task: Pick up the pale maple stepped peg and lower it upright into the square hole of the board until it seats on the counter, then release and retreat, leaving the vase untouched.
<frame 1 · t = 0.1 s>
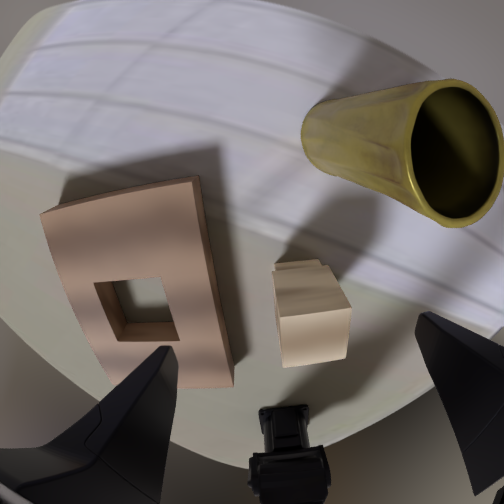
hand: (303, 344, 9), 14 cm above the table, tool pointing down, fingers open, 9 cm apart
board: (145, 294, 25), on the table
vase: (337, 137, 20), on the table
peg: (297, 280, 25), on the table
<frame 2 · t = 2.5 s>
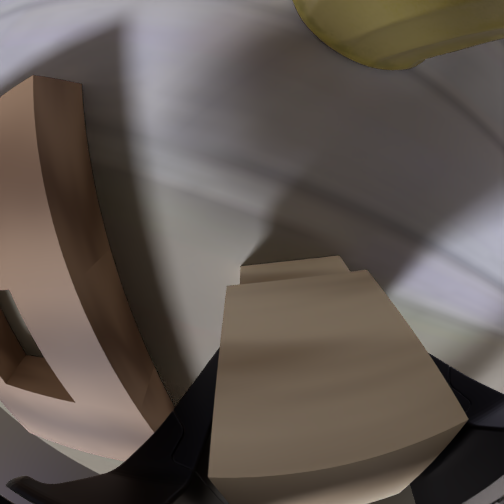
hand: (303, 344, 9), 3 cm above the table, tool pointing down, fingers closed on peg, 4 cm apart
board: (32, 316, 12), on the table
vase: (365, 5, 7), on the table
peg: (292, 302, 11), on the table, touching gripper
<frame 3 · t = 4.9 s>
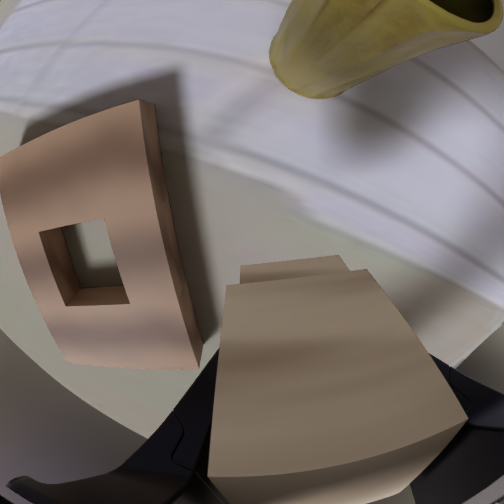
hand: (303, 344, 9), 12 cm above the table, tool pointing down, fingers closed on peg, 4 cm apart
board: (98, 251, 20), on the table
vase: (313, 59, 15), on the table
peg: (292, 302, 11), point 9 cm above the table, touching gripper
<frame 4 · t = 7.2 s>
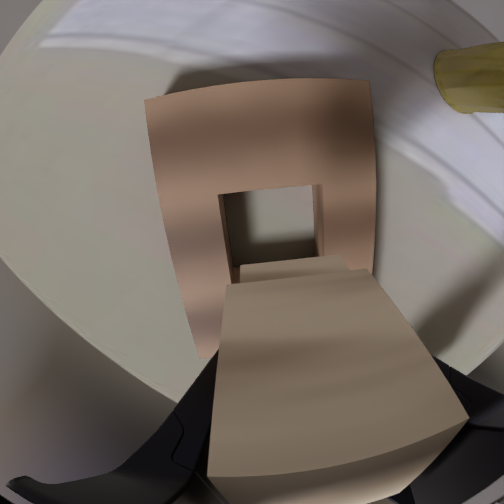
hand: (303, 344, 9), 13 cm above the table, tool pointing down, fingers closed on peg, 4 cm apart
board: (271, 223, 21), on the table
vase: (456, 81, 16), on the table
peg: (292, 301, 11), point 10 cm above the table, touching gripper
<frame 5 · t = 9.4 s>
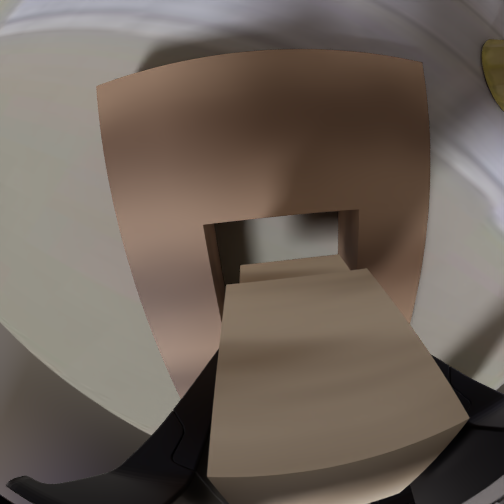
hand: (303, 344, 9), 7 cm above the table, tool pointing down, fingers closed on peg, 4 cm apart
board: (280, 258, 15), on the table
vase: (503, 77, 10), on the table
peg: (292, 301, 11), point 4 cm above the table, touching gripper
when the fingers open (4 cm above the table, at t = 11.6 s): peg drops 1 cm, resting in board.
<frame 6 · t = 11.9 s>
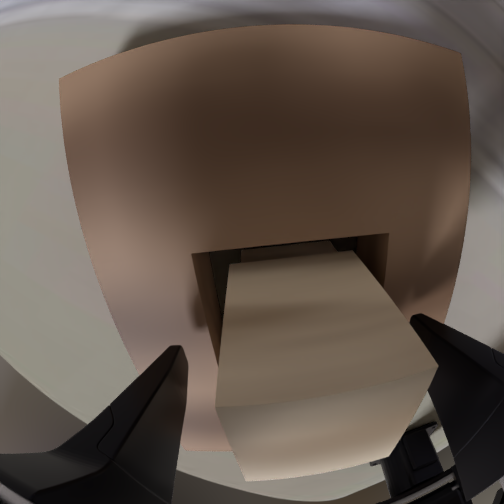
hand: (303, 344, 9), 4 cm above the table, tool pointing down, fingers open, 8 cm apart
board: (287, 284, 13), on the table
peg: (288, 283, 13), resting in board
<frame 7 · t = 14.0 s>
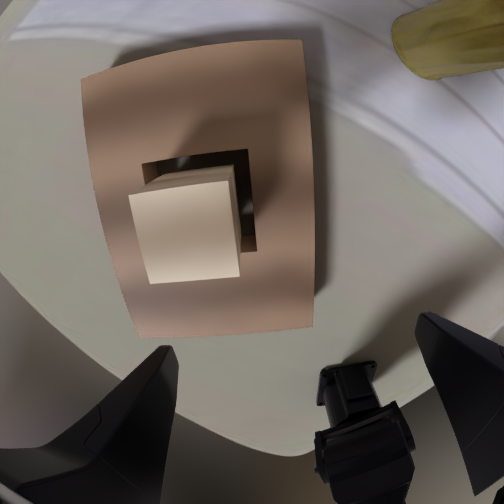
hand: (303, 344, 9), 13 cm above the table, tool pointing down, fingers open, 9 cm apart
board: (205, 196, 20), on the table
vase: (420, 47, 15), on the table
peg: (206, 196, 20), resting in board
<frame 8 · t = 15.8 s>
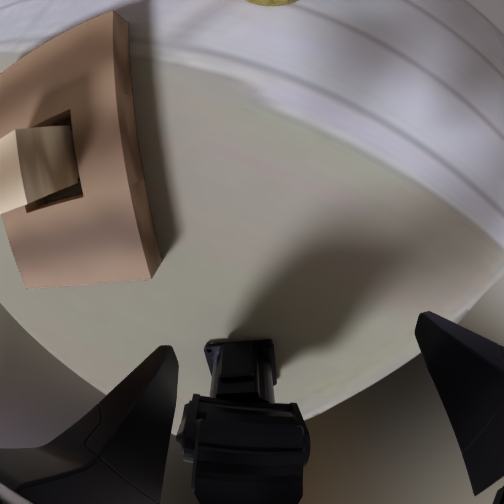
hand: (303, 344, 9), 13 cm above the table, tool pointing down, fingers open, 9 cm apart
board: (65, 159, 18), on the table
peg: (65, 158, 18), resting in board
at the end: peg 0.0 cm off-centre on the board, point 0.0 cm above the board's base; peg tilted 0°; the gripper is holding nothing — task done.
